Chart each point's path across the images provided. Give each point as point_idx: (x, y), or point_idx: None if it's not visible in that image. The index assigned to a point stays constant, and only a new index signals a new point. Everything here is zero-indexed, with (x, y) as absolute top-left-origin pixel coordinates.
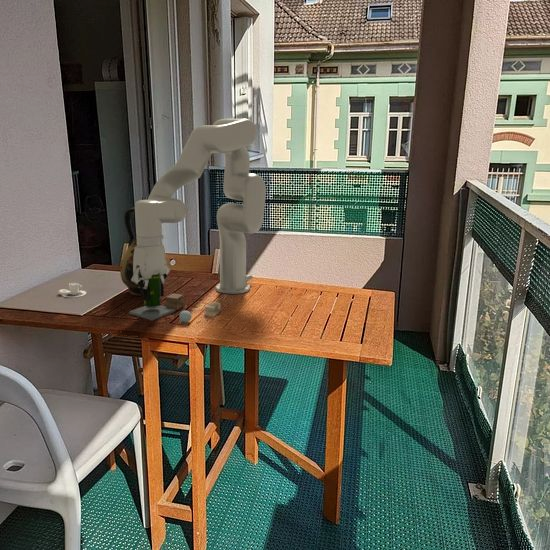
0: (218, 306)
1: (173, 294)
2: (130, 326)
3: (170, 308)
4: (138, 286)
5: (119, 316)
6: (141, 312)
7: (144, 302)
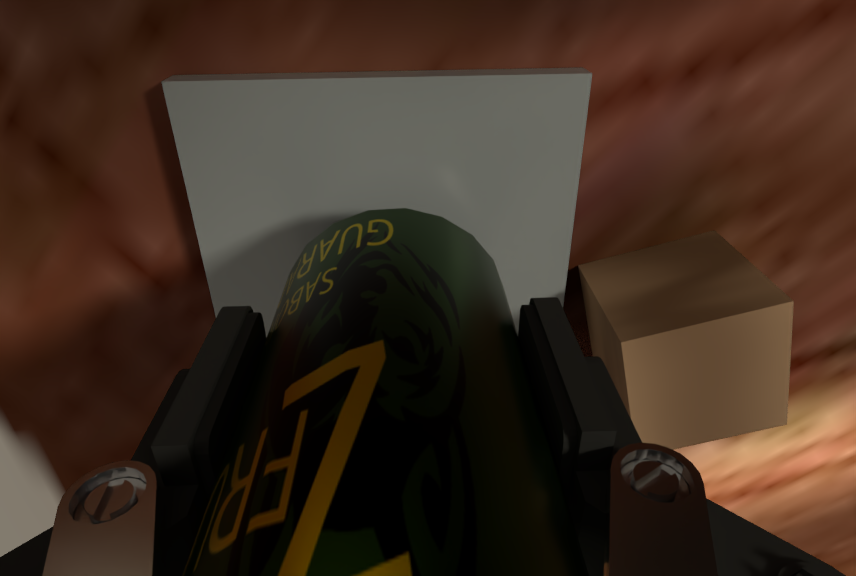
0: None
1: (757, 338)
2: (9, 364)
3: None
4: (45, 533)
5: (23, 49)
6: (254, 232)
7: (282, 295)
